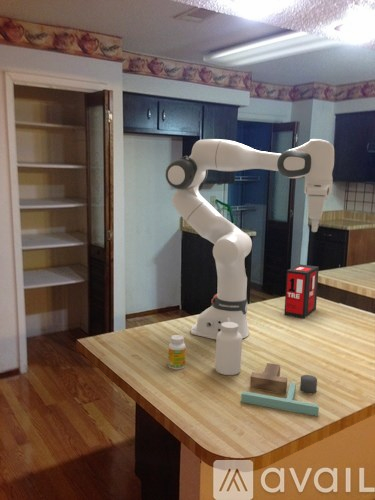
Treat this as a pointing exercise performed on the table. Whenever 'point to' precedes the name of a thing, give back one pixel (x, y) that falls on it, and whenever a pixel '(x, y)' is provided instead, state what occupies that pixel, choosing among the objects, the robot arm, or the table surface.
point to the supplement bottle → (176, 352)
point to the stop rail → (281, 402)
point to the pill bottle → (228, 349)
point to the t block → (269, 380)
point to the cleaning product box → (301, 290)
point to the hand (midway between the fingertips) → (315, 230)
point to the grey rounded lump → (308, 384)
